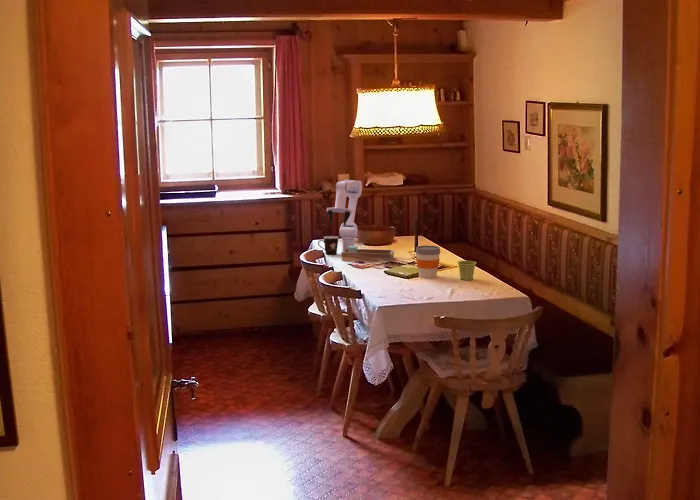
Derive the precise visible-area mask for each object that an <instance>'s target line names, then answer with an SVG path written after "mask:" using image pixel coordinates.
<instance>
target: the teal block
mask: <svg viewBox="0 0 700 500" xmlns="http://www.w3.org/2000/svg"><path fill="white" fill-rule="evenodd" d="M357 249H358V245H355V246H349V247H348V252H351V253H357Z"/></svg>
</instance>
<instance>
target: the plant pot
mask: <svg viewBox="0 0 700 500" xmlns="http://www.w3.org/2000/svg"><path fill="white" fill-rule="evenodd" d="M457 264H458V267H459V268H458V269H459V276H460V280H462V281H463V280H464V281H471V280H473V279H474V275H475V274H474V273H475V272H474V271H475V267H476V266H477V262H476V261H473V260H461V261H459V260H458V261H457Z"/></svg>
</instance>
